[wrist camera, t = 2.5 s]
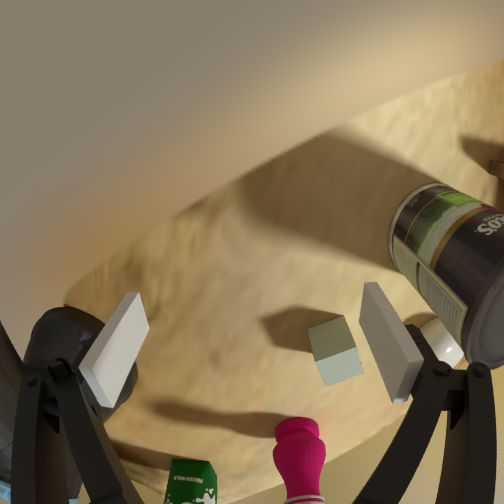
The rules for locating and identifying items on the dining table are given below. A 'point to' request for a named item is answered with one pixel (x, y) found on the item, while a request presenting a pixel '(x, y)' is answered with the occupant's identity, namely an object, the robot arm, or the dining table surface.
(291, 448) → the pepper mill
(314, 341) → the sage block
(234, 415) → the dining table surface
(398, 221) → the coffee can
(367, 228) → the dining table surface
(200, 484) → the milk carton
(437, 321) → the white glossy round part
